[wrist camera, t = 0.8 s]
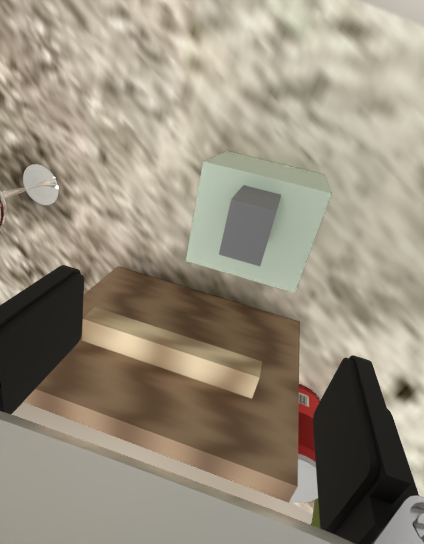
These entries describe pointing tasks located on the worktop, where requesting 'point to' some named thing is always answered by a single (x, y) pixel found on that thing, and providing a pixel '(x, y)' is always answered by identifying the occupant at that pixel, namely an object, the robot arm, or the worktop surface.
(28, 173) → the wineglass
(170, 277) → the worktop surface
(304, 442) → the canned food
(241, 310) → the wall board
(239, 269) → the mint green box
